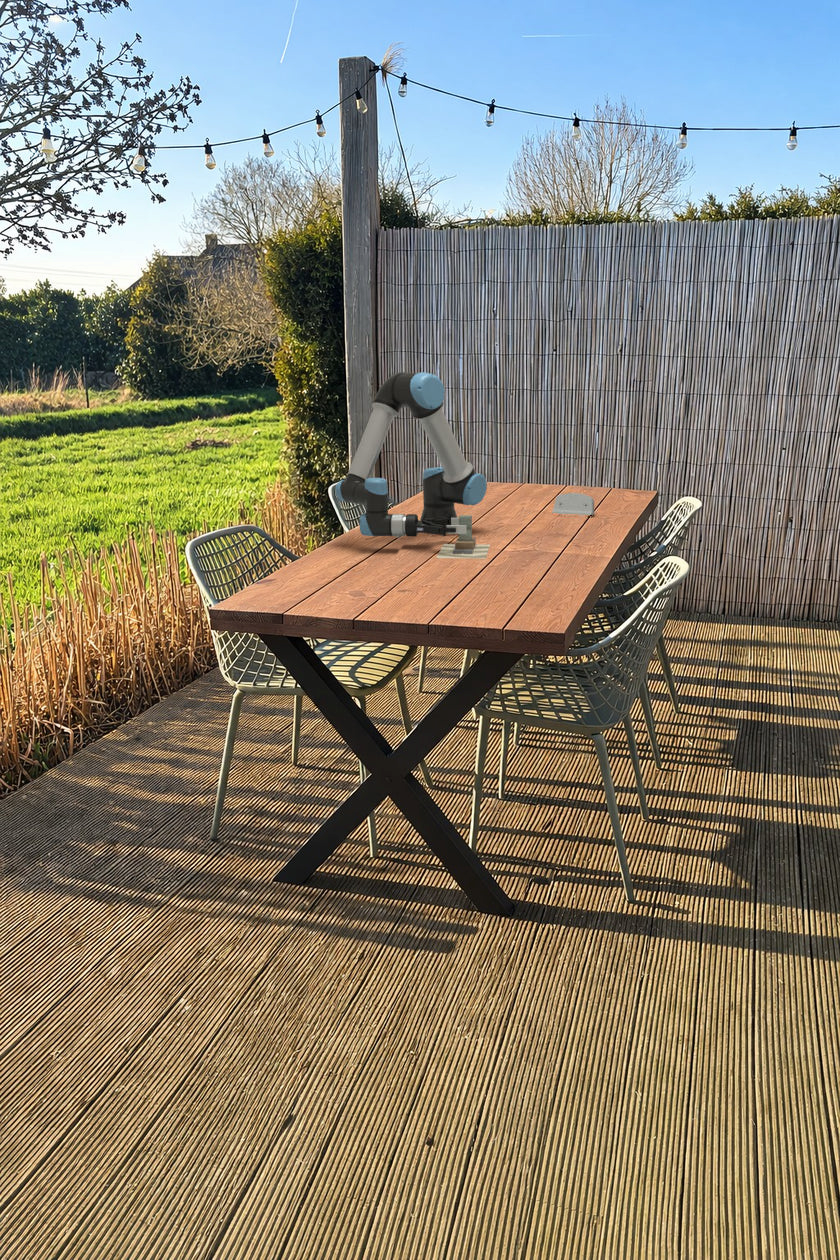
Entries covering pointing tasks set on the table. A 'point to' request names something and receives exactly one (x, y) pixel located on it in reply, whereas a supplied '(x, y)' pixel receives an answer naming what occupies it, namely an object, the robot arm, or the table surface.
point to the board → (447, 552)
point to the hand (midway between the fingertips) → (468, 525)
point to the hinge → (574, 504)
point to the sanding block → (465, 539)
